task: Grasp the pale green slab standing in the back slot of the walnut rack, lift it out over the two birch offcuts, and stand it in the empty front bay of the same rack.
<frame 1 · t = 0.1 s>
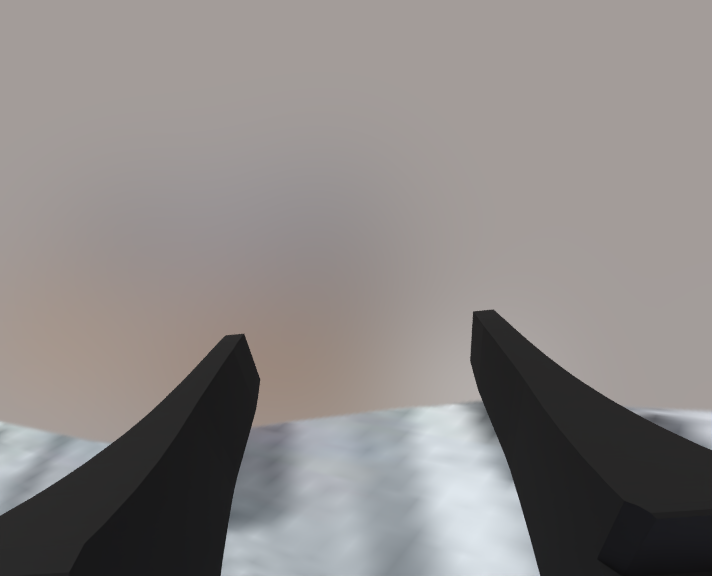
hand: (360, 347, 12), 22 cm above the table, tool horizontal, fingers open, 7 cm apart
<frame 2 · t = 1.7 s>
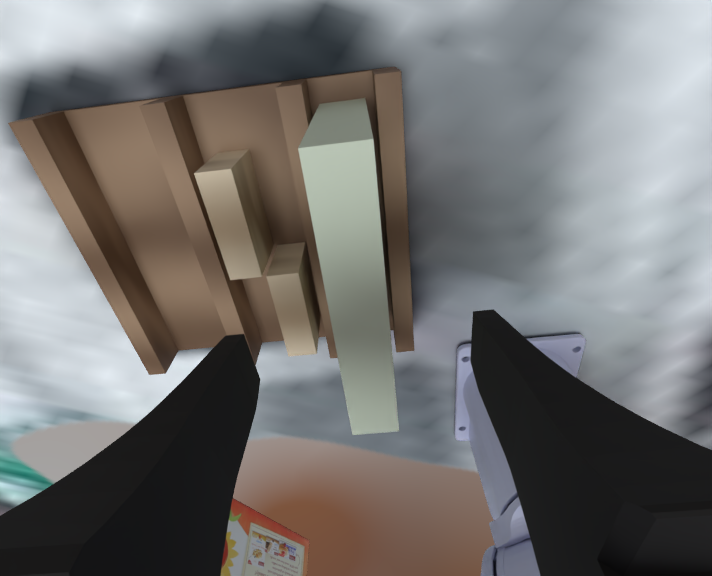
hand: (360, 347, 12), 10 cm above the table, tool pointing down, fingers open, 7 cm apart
cracker box: (240, 518, 37), on the table
rack: (272, 232, 21), on the table
pale green slab: (357, 227, 20), point 1 cm above the table, touching rack
offcut 2: (247, 202, 19), point 1 cm above the table, touching rack
offcut 1: (300, 283, 22), point 1 cm above the table, touching rack
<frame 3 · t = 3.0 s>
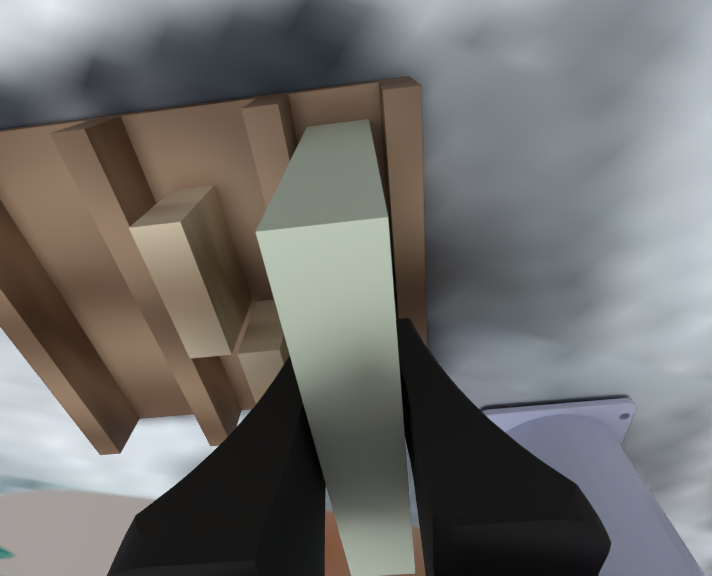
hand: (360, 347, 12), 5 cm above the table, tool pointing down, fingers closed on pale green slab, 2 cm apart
rack: (250, 284, 17), on the table
pale green slab: (358, 280, 16), point 1 cm above the table, touching gripper, rack
offcut 2: (215, 250, 15), point 1 cm above the table, touching rack
offcut 1: (286, 345, 18), point 1 cm above the table, touching rack
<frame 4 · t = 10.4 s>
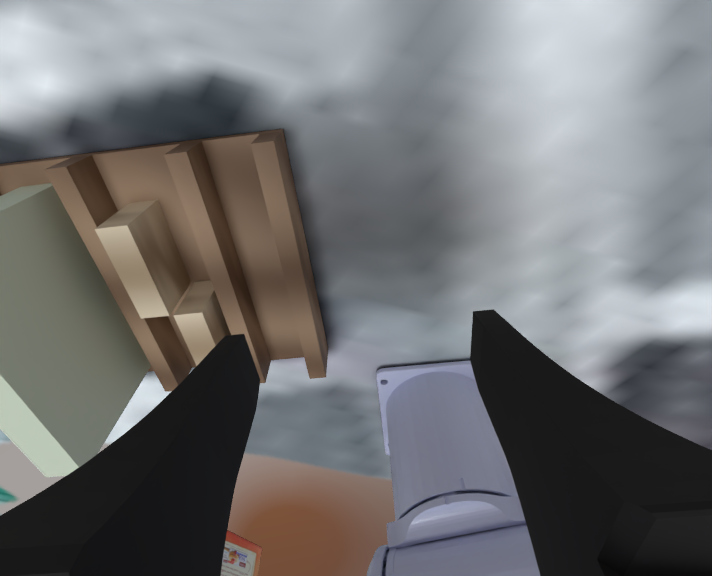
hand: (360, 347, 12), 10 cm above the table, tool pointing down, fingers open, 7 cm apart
cracker box: (194, 527, 39), on the table
rack: (191, 269, 23), on the table
pale green slab: (97, 285, 23), point 1 cm above the table, touching rack
offcut 2: (162, 245, 21), point 1 cm above the table, touching rack
offcut 1: (220, 315, 24), point 1 cm above the table, touching rack
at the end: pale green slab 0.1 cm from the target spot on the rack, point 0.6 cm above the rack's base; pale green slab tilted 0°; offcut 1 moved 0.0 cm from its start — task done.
